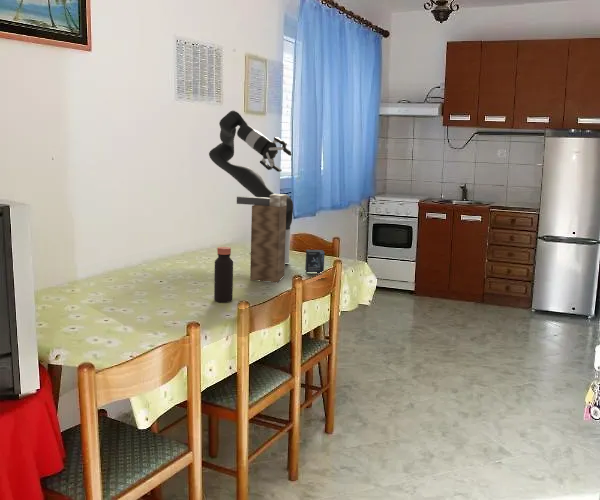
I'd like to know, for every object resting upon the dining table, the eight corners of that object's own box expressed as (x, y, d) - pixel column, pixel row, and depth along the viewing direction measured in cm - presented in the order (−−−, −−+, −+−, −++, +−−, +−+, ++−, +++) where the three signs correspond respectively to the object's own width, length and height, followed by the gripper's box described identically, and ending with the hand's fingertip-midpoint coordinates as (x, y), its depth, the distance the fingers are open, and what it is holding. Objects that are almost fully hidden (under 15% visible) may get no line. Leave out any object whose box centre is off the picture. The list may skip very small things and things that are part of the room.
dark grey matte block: (236, 203, 273) (236, 196, 272) (239, 202, 277) (239, 196, 276) (279, 206, 269) (279, 199, 268) (282, 205, 273) (282, 198, 272)
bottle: (229, 303, 235) (230, 250, 231) (211, 301, 236) (212, 248, 232) (234, 299, 241) (235, 246, 238) (217, 297, 242) (218, 245, 239)
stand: (250, 280, 273) (252, 194, 266) (258, 274, 284) (260, 192, 278) (278, 282, 270) (281, 196, 264) (285, 276, 282) (287, 193, 275)
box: (306, 274, 288) (307, 251, 286) (304, 272, 294) (305, 249, 292) (323, 274, 289) (324, 251, 288) (321, 272, 295) (322, 249, 293)
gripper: (269, 128, 287) (297, 149, 284) (253, 155, 292) (280, 175, 288) (262, 128, 280) (290, 149, 277) (246, 155, 285) (274, 176, 282)
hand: (285, 163), depth 283 cm, fingers open, 8 cm apart
